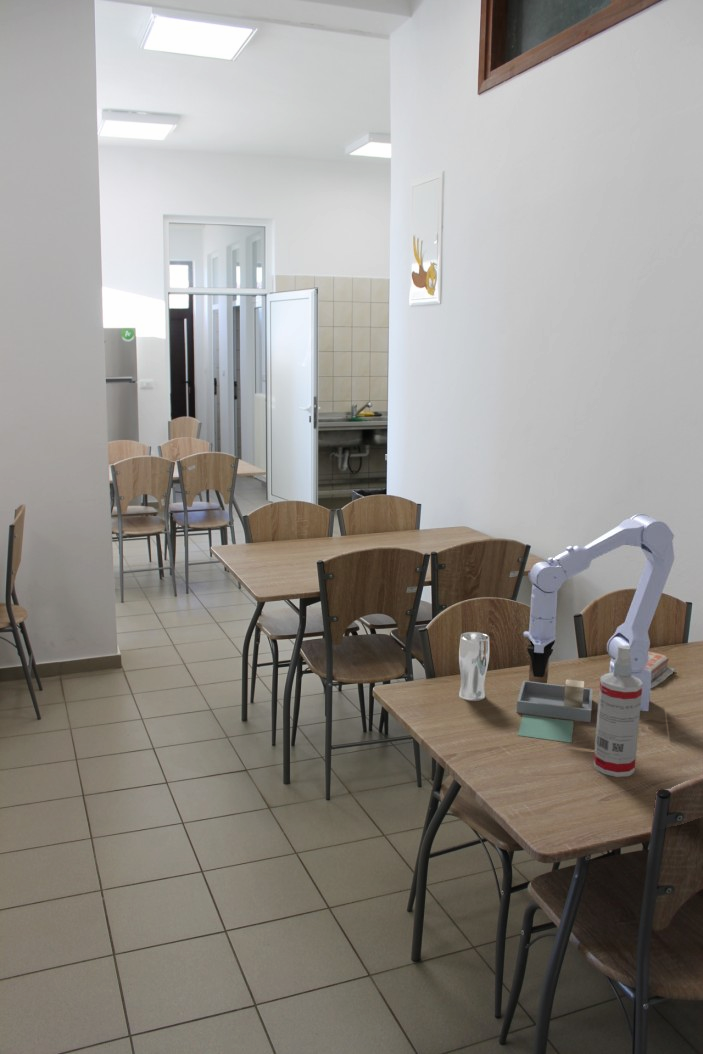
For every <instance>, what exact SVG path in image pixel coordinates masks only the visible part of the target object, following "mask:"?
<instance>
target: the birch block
mask: <svg viewBox="0 0 703 1054" xmlns="http://www.w3.org/2000/svg"><path fill="white" fill-rule="evenodd" d="M564 686H565V696H564V706H567V707H575V708H582V704H583V691H584V688H585V681H583V680H575V679H566V680H565V685H564Z"/></svg>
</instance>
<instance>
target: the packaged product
mask: <svg viewBox="0 0 703 1054" xmlns="http://www.w3.org/2000/svg"><path fill="white" fill-rule="evenodd" d="M648 655H649V660H648V663H647V665H646V666H645V668H644V669H649V670H651V688H650V690H651V689H653V688H655V687H657V686H658V685H659V684H661V683H662V682H664V681H665V680H667V678H668V677H670V675H672V674H673V672H674V673H675V671H676V669H675V668H672V667H668V663H669V659H670V658H669V657H668V656H667V655H665V654H662V653H658V652H654V651H650V650H648Z"/></svg>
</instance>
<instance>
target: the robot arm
mask: <svg viewBox="0 0 703 1054" xmlns="http://www.w3.org/2000/svg"><path fill="white" fill-rule="evenodd" d="M674 538H675V535H674V533H673V532H672V530H671V528H670V527H669V526H668V524H667V523H665V522H664V521H661V520H658V519H656V518H655V519H654V518H653V517H651V516H649V515H648V514H644V513H638V514H637V513H636V514H634V515H633V516H632V517H630V518H627V519H624V520H623V521H622V522H620V523H619V524H618V525H617V526H616V527H614V528H612V529H611V530H609V531H607V532H605V533H604V534H602V535H601V536H599V537H598V538H596V539H595V540H593V541H591V542H589V543H588V544H586V545H585V546H580V545H574V546H571V545H568V546H567V547H565V550H564V551H563V552H561V553H559V554H558V555H555V556H553V557H551V556H550V557H548V558H547V562H546V561H539V562H537V563H535V564H533V566H532V568H531V569H530V570H529V571H530V572H528V579H529V580H530V582H531V595H530V609H529V610H530V613H529V627H528V631H527V630H526V631H523V638H524V637H526V638H528V639H529V642H530V644H527V647H526V650H527V653H528V655H529V659H530V658H531V662H532V669H533V675H534V676H535V677H543V676H544V673H545V669H546V665H547V661H548V659H549V660H550V657H551V655H552V654H553V651H554V648H553V646H554V644H555V641H556V625H557V623H556V621H557V608H558V607H557V606H558V590H559V589H561V587H562V585H563V583H564V582H565V581H567V580H569V579H571V578H572V577H574V576H576V575H578V574H580V573H582V572H584V571H585V570H587V569H589V568H590V566H591V563H592V561H593V560H594V559H597V558H599V557H601V556H603V555H606V554H607V553H609V552H611V551H613V550H616V549H618V548H620V547H623V546H631V547H632V546H633V547H639V548H640V549H641V550H642V552H643V554H644V556H645V557H646V562H645V565H644V568H643V571H642V573H641V577H640V579H639V582H638V584H637V586H636V590H635V593H634V595H633V598H632V601H631V604H630V606H629V609H628V611H627V614H626V617H625V621H624V622H623V623H621V625H619V626H617V627H616V630H615V632H614V633H613V635H612V636H611V637H610V638H609V639H608V641H607V643H606V651H607V653H608V654H609V656H610V661H609V670H608V671H609V672H608V673H613V668H614V661H615V659H616V657H617V653H618V647H619V646H623V645H628V646H630V660H631V675H632V676H634V677H636V678H639V679H640V680H641V682H642V684H643V685H642V695H641V706H640V712H641V711H642V712H649V708H650V707H649V706H650V702H651V698H652V696H651V689H652V688H651V670H649V669H644V668H645V666H646V665H647V663H648V660H649V655H648V651H650V650H649V649H650V645H651V641H650V636H649V629H650V626H651V623H652V622H653V621H652V620H653V618H654V616H655V613H656V610H657V608H658V605H659V601H660V599H661V596H662V594H663V590H664V588H665V585H666V583H667V580H668V578H669V575H670V573H671V570H672V567H673V565H674V561H675V553H674V544H673V540H674ZM650 688H651V689H650Z"/></svg>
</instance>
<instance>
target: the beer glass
mask: <svg viewBox="0 0 703 1054" xmlns="http://www.w3.org/2000/svg"><path fill="white" fill-rule="evenodd" d="M489 660H490V636H489V635H487V634H486V633H483V632H479V631H478V632H477V631H470V632H469V631H467V632H463V633H461V635H460V641H459V650H458V663H459V670H460V671H459V672H460V689H459V694H458V696H459V697H460V699H463V700H466V701H471V702H474V701H482V700H484V699H485V698H486V695H485V693H486V692H485V679H486V675H487V671H488V667H489V666H488V665H489V662H490V661H489Z"/></svg>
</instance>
